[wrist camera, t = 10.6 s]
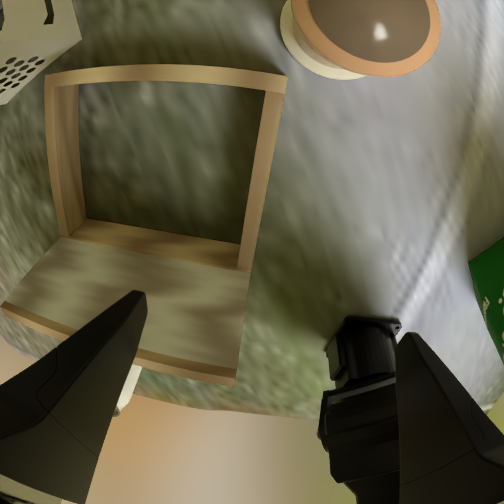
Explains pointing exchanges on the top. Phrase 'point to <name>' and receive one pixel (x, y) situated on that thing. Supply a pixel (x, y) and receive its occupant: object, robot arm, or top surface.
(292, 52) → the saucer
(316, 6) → the pot
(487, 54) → the top surface
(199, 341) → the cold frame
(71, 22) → the grater
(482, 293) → the milk carton
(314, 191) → the top surface
